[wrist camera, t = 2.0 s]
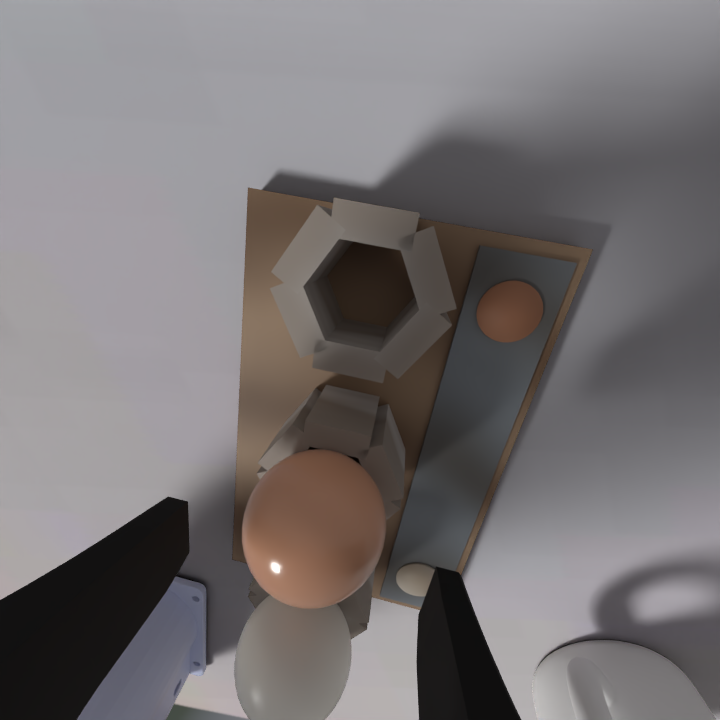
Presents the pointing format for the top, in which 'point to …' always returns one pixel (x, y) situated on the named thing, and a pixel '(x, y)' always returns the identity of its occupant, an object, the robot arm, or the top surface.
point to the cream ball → (292, 661)
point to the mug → (614, 685)
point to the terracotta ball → (314, 529)
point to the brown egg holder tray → (393, 366)
